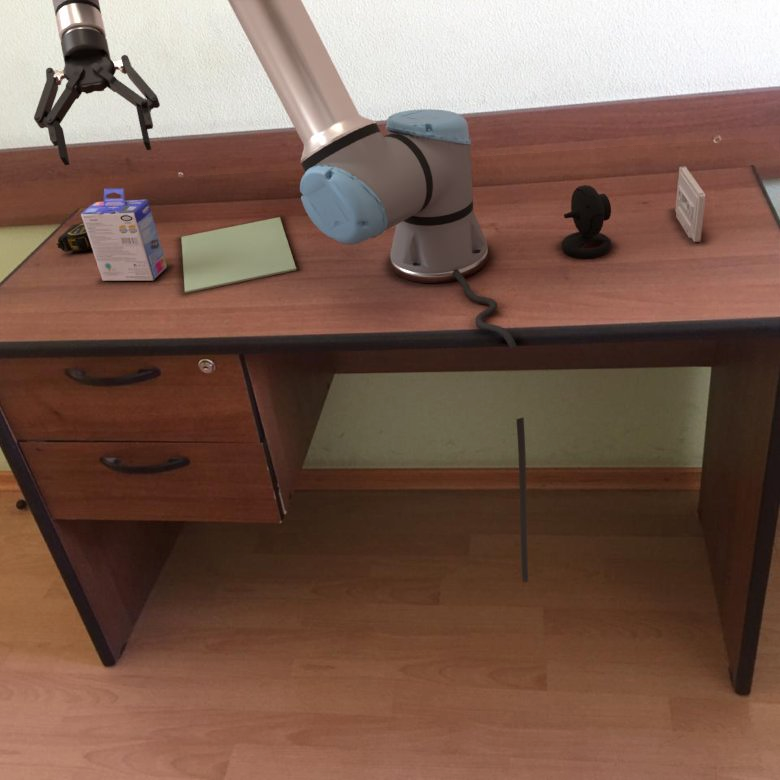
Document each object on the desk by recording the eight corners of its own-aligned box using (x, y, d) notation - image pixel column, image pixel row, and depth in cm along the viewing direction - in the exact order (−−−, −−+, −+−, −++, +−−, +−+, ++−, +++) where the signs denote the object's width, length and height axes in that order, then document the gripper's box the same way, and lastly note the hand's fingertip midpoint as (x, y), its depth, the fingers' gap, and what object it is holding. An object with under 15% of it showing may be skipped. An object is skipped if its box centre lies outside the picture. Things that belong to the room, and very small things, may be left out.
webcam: (620, 252, 127) (623, 190, 121) (575, 263, 125) (576, 201, 120) (596, 233, 133) (598, 173, 127) (553, 243, 132) (553, 183, 126)
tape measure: (78, 239, 155) (71, 220, 153) (112, 237, 154) (105, 219, 152) (60, 255, 150) (53, 236, 148) (95, 254, 148) (88, 235, 146)
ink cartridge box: (169, 266, 141) (145, 184, 133) (155, 281, 137) (130, 198, 128) (117, 266, 143) (90, 186, 135) (101, 282, 139) (73, 200, 131)
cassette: (703, 242, 126) (709, 194, 122) (691, 243, 126) (696, 196, 122) (683, 210, 136) (688, 165, 132) (672, 211, 136) (676, 166, 132)
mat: (296, 270, 134) (296, 268, 134) (185, 293, 132) (184, 291, 132) (280, 219, 152) (279, 216, 152) (181, 238, 150) (181, 236, 150)
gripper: (161, 40, 147) (185, 150, 143) (16, 65, 144) (37, 177, 140) (152, 14, 140) (177, 128, 136) (0, 39, 136) (21, 157, 133)
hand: (106, 153), depth 138 cm, fingers open, 13 cm apart
